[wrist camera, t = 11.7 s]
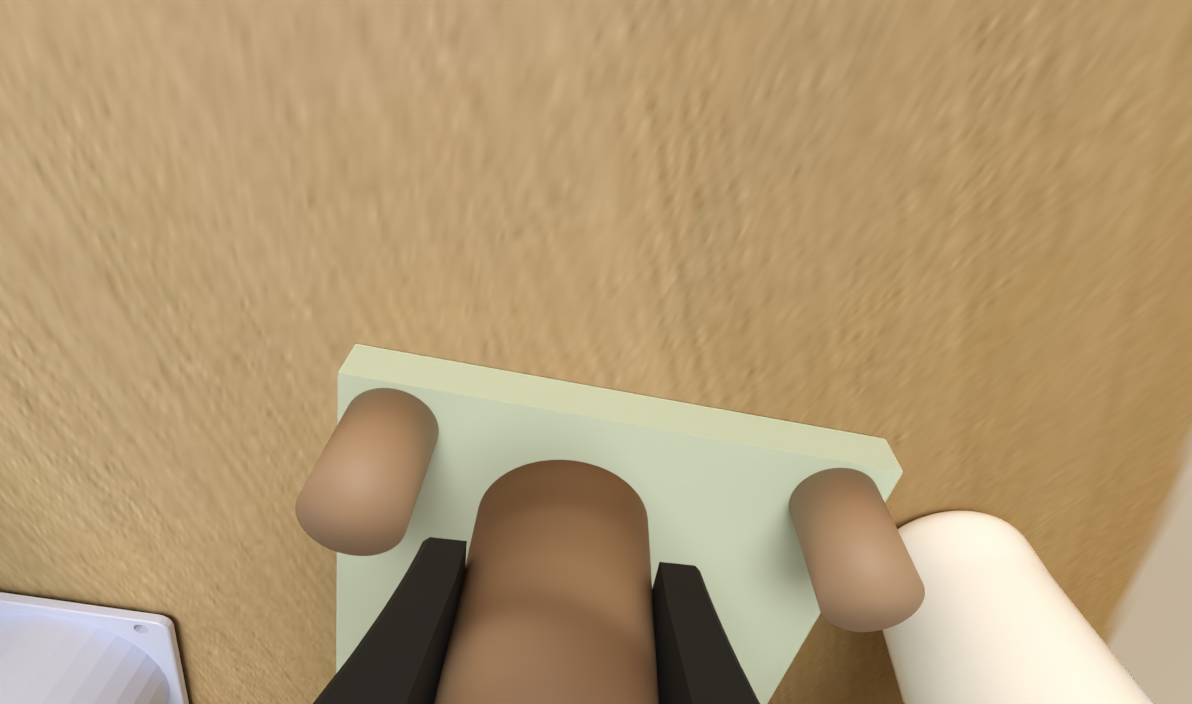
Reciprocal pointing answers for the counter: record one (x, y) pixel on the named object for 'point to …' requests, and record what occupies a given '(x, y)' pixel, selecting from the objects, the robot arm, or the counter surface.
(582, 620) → the leg peg
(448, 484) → the board
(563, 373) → the counter surface
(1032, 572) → the white tumbler
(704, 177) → the counter surface
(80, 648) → the robot arm
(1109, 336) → the counter surface
